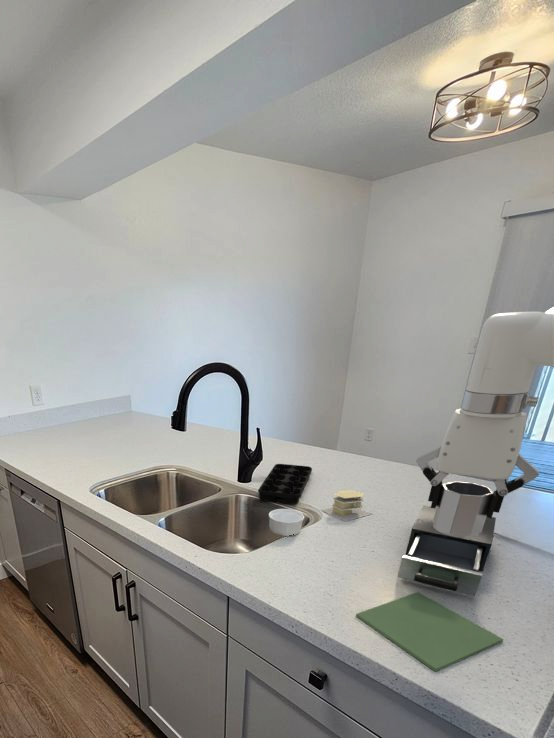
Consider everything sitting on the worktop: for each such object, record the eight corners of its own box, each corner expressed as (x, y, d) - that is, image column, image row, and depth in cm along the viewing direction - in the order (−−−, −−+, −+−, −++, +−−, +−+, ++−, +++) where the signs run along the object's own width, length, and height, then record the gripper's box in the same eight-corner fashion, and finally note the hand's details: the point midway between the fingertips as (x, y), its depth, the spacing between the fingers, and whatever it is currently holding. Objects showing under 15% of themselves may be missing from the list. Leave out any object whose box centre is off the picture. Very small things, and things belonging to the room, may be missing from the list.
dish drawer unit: (482, 571, 92) (492, 544, 89) (405, 554, 100) (411, 528, 97) (487, 542, 103) (496, 517, 100) (417, 529, 111) (423, 505, 108)
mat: (502, 642, 73) (503, 639, 73) (435, 671, 68) (436, 669, 68) (417, 594, 86) (418, 591, 86) (355, 616, 81) (356, 613, 81)
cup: (489, 532, 74) (502, 491, 70) (460, 541, 72) (473, 498, 68) (451, 518, 79) (462, 479, 76) (423, 525, 77) (433, 486, 74)
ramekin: (292, 521, 120) (294, 506, 118) (308, 535, 112) (310, 519, 110) (262, 525, 118) (263, 510, 116) (276, 539, 111) (277, 524, 109)
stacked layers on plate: (345, 521, 118) (348, 502, 115) (321, 510, 125) (323, 492, 122) (372, 513, 121) (375, 495, 118) (347, 503, 128) (350, 486, 126)
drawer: (473, 608, 80) (480, 586, 78) (392, 587, 87) (397, 566, 85) (480, 564, 93) (487, 545, 91) (410, 549, 101) (414, 530, 98)
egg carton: (310, 474, 153) (311, 463, 151) (319, 506, 127) (320, 494, 126) (258, 473, 157) (259, 463, 156) (257, 504, 131) (258, 492, 130)
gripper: (567, 402, 64) (526, 513, 72) (430, 396, 74) (408, 494, 82) (569, 412, 58) (525, 530, 66) (422, 404, 68) (399, 507, 76)
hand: (461, 509), depth 74 cm, fingers closed on cup, 7 cm apart
